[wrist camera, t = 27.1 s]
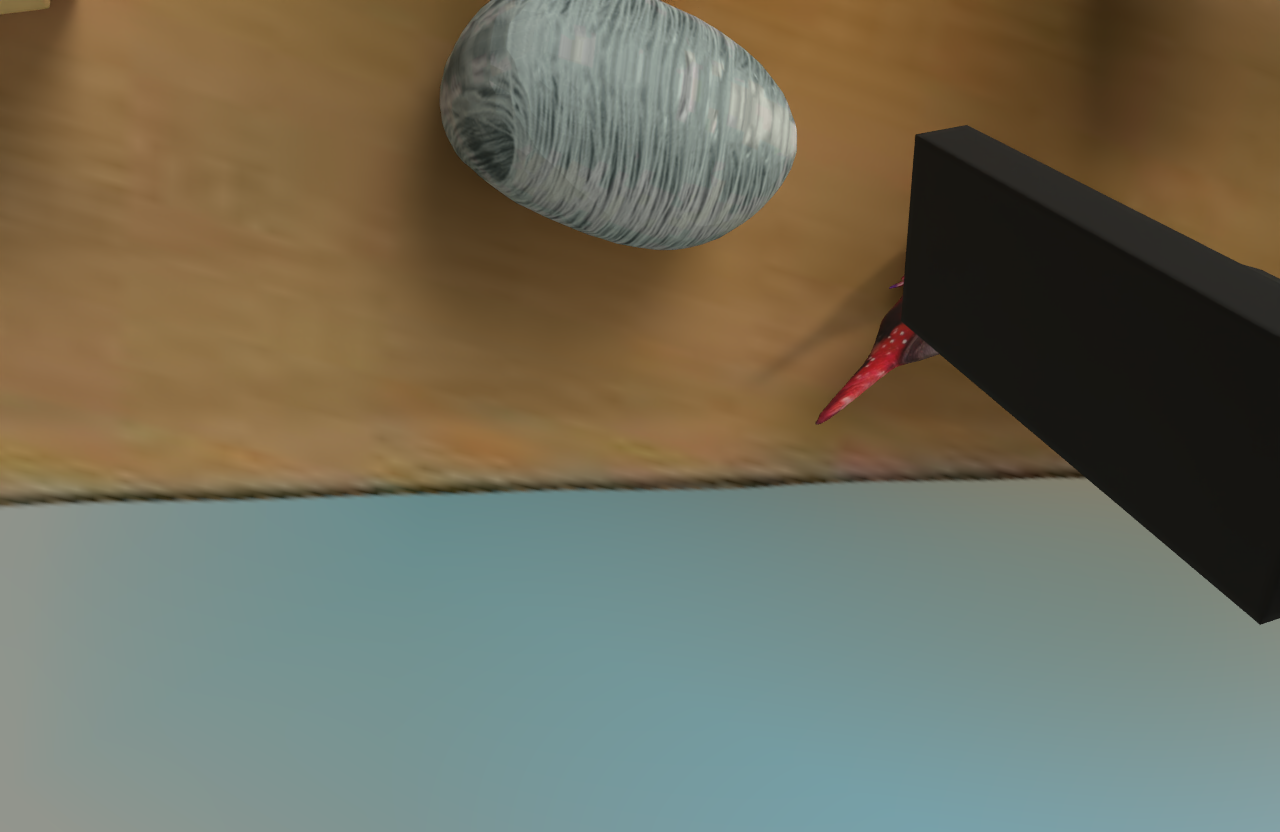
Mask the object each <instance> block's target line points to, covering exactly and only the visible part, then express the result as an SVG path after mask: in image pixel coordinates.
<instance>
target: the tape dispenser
mask: <svg viewBox="0 0 1280 832" xmlns="http://www.w3.org/2000/svg"><path fill="white" fill-rule="evenodd" d="M49 7H50V0H0V14H8V13H16V12H24V11H32V10H40V9H48V8H49Z"/></svg>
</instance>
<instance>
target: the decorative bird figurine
mask: <svg viewBox="0 0 1280 832" xmlns="http://www.w3.org/2000/svg"><path fill="white" fill-rule="evenodd" d="M901 279H902V280H904V276H903V277H902V278H901ZM900 286H904V281H903V282H900V283H898V284H895V285H893V286H891V287H890V288H889V289H891V288H896V287H900ZM902 299H903V296H902V297H901V298H900V300H899V301H898V302H897V303H896V304H895V306H894V307H893V308H892V309H891V310H890V311H889V312H888V313H887V314H886V316H885V317H884V318H883V320H882V322H881V325H880V328H879V332H878V335H877V338H876V341H875V344H874V346H873V349H872V351H871V353H870V355H869V356H868V358H867V359H866V361H865V363H864V364H863V365H862V366H861V368H860V369H859V370H858V371H857V372H856V373H855V374H854V376H853V377H852V378H851V379H850V380H849V381H848V382H847V383H846V385H845V386H844V387H843V388H842V389H841V390H840V391H839V392H838V394H837V395H836V396H835V397H834V398H833V399H832V400H831V402H830V403H829V404H828V405H827V407H826V408H825V409H824V410H823V411H822V413H821V414H820V415H819V418H818V420H817V421H816V423H815V424H821V423H823V422H825V421H827V420H828V419H830V418H831V417H832V416H834V415H835V414H837V413H838V412H839V411H840V410H841V409H843V408H844V407H846V406H847V405H848V404H849V403H850V402H852V401H853V400H854V399H855V398H857V397H858V396H859V395H861V394H862V393H863V392H864V391H865V390H867V389H868V388H869V387H870V386H871V385H873V384H874V383H875V382H877V381H878V380H879V379H880V378H881V377H883V376H884V375H885V374H887V373H888V372H889V371H891V370H892V369H894V368H895V367H898V366H901V365H904V364H908V363H912V362H916V361H920V360H923V359H926V358H929V357H932V356H935V355H938V354H939V353H938V352H937V351H935V350H934V349H933V348H932V347H931V346H930V345H928V344H927V343H926V342H925V341H924V340H922V339H921V338H920V337H919V336H918V335H916V334H915V333H914V332H913V331H912V330H911V329H909V328H908V327H907V326H906V325H905V324H903V323H902V322H901V312H902Z"/></svg>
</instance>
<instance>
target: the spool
mask: <svg viewBox="0 0 1280 832" xmlns="http://www.w3.org/2000/svg"><path fill="white" fill-rule="evenodd" d="M440 110H441V117H442V124H443V127H444V129H445V132H446V135H447V137H448V139H449V141H450V143H451V145H452V147H453V149H454V151H455V152H456V154H457V155H458V156H459V158H460V159H461V160H462V161H463V162H464V163H465V164H467V165H468V166H469V167H470V168H471V169H472V170H474V171H475V172H476V173H477V174H478V175H479V176H480V177H481V178H483V179H484V180H485V181H486V182H488V183H489V184H490V185H492V186H493V187H494V188H496V189H497V190H498V191H500V192H501V193H503V194H504V195H505V196H507V197H508V198H510V199H511V200H513V201H514V202H516V203H518V204H520V205H522V206H524V207H526V208H528V209H530V210H532V211H534V212H536V213H538V214H540V215H542V216H544V217H547V218H549V219H551V220H554V221H556V222H559V223H561V224H563V225H566V226H568V227H571V228H573V229H575V230H578V231H580V232H583V233H586V234H588V235H591V236H595V237H598V238H601V239H605V240H608V241H611V242H614V243H617V244H622V245H628V246H633V247H639V248H646V249H655V250H676V249H684V248H689V247H693V246H697V245H701V244H704V243H707V242H709V241H712V240H715V239H718V238H720V237H721V236H723V235H725V234H727V233H728V232H730V231H732V230H733V229H735V228H736V227H738V226H739V225H741V224H742V223H744V222H746V221H747V220H748V219H750V218H751V217H752V216H753V215H754V214H756V213H757V212H758V211H759V210H760V209H761V208H762V207H763V206H764V205H765V204H766V203H767V202H768V201H769V200H770V199H771V197H772V196H773V195H774V194H775V193H776V191H777V190H778V189H779V188H780V186H781V185H782V183H783V182H784V180H785V178H786V177H787V175H788V173H789V171H790V170H791V167H792V164H793V161H794V158H795V155H796V152H797V130H796V125H795V122H794V119H793V116H792V114H791V111H790V108H789V106H788V103H787V101H786V99H785V97H784V94H783V92H782V91H781V90H780V88H779V87H778V86H777V84H776V83H775V82H774V80H773V79H772V78H771V76H770V75H769V74H768V72H767V71H766V70H765V69H764V67H763V66H762V65H761V64H760V63H759V62H758V61H757V60H756V59H755V58H754V57H752V56H751V55H750V54H749V53H748V52H747V51H746V50H745V49H743V48H742V47H741V46H739V45H738V44H737V43H735V42H734V41H733V40H731V39H730V38H729V37H727V36H726V35H724V34H723V33H722V32H720V31H719V30H717V29H715V28H714V27H712V26H710V25H709V24H707V23H706V22H704V21H702V20H700V19H699V18H697V17H695V16H693V15H691V14H688V13H686V12H684V11H682V10H679V9H677V8H675V7H673V6H671V5H669V4H667V3H664V2H662V1H660V0H491V1H490V2H488V3H487V4H486V5H485V6H483V7H482V8H481V9H480V10H479V11H478V12H477V14H476V15H475V16H474V17H473V18H472V20H471V21H470V22H469V23H468V25H467V26H466V27H465V29H464V30H463V31H462V33H461V35H460V37H459V39H458V41H457V42H456V44H455V46H454V48H453V51H452V53H451V54H450V56H449V57H448V60H447V62H446V65H445V68H444V74H443V78H442V82H441V85H440Z"/></svg>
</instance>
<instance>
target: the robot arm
mask: <svg viewBox="0 0 1280 832" xmlns="http://www.w3.org/2000/svg"><path fill="white" fill-rule="evenodd" d="M901 322H902V323H903V324H905V325H906V326H907V327H908V328H909V329H911V330H912V331H913V332H914V333H915V334H916V335H918V336H919V337H920V338H921V339H922V340H924V341H925V342H926V343H927V344H928V345H930V346H931V347H932V348H933V349H934V350H935V351H937V352H938V353H939V354H940V355H941V356H943V357H944V358H945V359H946V360H947V361H948V362H950V363H951V364H952V365H953V366H954V367H956V368H957V369H958V370H959V371H960V372H961V373H963V374H964V375H965V376H966V377H967V378H969V379H970V380H971V381H972V382H973V383H975V384H976V385H977V386H978V387H979V388H980V389H982V390H983V391H984V392H985V393H986V394H988V395H989V396H990V397H991V398H992V399H993V400H995V401H996V402H997V403H998V404H999V405H1001V406H1002V407H1003V408H1004V409H1005V410H1006V411H1008V412H1009V413H1010V414H1011V415H1012V416H1014V417H1015V418H1016V419H1017V420H1018V421H1020V422H1021V423H1022V424H1023V425H1024V426H1025V427H1027V428H1028V429H1029V430H1030V431H1031V432H1033V433H1034V434H1035V435H1036V436H1037V437H1038V438H1040V439H1041V440H1042V441H1043V442H1044V443H1046V444H1047V445H1048V446H1049V447H1050V448H1051V449H1053V450H1054V451H1055V452H1056V453H1057V454H1059V455H1060V456H1061V457H1062V458H1063V459H1065V460H1066V461H1067V462H1068V463H1069V464H1070V465H1072V466H1073V467H1074V468H1075V469H1076V470H1078V471H1079V472H1080V473H1081V474H1082V475H1083V476H1085V477H1086V478H1087V479H1088V480H1089V481H1091V482H1092V483H1093V484H1094V485H1095V486H1097V487H1098V488H1099V489H1100V490H1101V491H1102V492H1104V493H1105V494H1106V495H1107V496H1108V497H1110V498H1111V499H1112V500H1113V501H1114V502H1115V503H1117V504H1118V505H1119V506H1120V507H1122V508H1123V509H1124V510H1125V511H1126V512H1127V513H1129V514H1130V515H1131V516H1132V517H1133V518H1134V519H1136V520H1137V521H1138V522H1139V523H1140V524H1141V525H1143V526H1144V527H1145V528H1146V529H1147V530H1149V531H1150V532H1151V533H1152V534H1153V535H1155V536H1156V537H1157V538H1158V539H1159V540H1160V541H1162V542H1163V543H1164V544H1165V545H1166V546H1168V547H1169V548H1170V549H1171V550H1172V551H1173V552H1175V553H1176V554H1177V555H1178V556H1179V557H1181V558H1182V559H1183V560H1184V561H1185V562H1187V563H1188V564H1189V565H1190V566H1191V567H1192V568H1194V569H1195V570H1196V571H1197V572H1198V573H1199V574H1201V575H1202V576H1203V577H1204V578H1205V579H1207V580H1208V581H1209V582H1210V583H1211V584H1213V585H1214V586H1215V587H1216V588H1218V589H1219V590H1220V591H1221V592H1222V593H1223V594H1224V595H1226V596H1227V597H1228V598H1229V599H1230V600H1232V601H1233V602H1234V603H1235V604H1236V605H1237V606H1239V607H1240V608H1241V609H1242V610H1243V611H1245V612H1246V613H1247V614H1248V615H1249V616H1250V617H1252V618H1253V619H1254V620H1255V621H1256V622H1258V623H1259V624H1260V625H1261V624H1264V623H1267V622H1270V621H1273V620H1275V619H1279V618H1280V279H1279V278H1277V277H1275V276H1273V275H1271V274H1269V273H1267V272H1265V271H1263V270H1260V269H1256V268H1253V267H1249V266H1246V265H1242V264H1240V263H1238V262H1236V261H1234V260H1232V259H1230V258H1228V257H1226V256H1224V255H1222V254H1220V253H1218V252H1216V251H1214V250H1212V249H1210V248H1208V247H1206V246H1204V245H1202V244H1201V243H1199V242H1197V241H1195V240H1193V239H1191V238H1189V237H1187V236H1185V235H1183V234H1181V233H1179V232H1177V231H1175V230H1173V229H1171V228H1169V227H1167V226H1165V225H1163V224H1161V223H1159V222H1157V221H1155V220H1153V219H1151V218H1149V217H1147V216H1145V215H1143V214H1141V213H1139V212H1137V211H1135V210H1133V209H1131V208H1129V207H1128V206H1126V205H1124V204H1122V203H1120V202H1118V201H1116V200H1114V199H1112V198H1110V197H1108V196H1106V195H1104V194H1102V193H1100V192H1098V191H1096V190H1094V189H1092V188H1090V187H1088V186H1086V185H1084V184H1082V183H1080V182H1078V181H1076V180H1074V179H1072V178H1070V177H1068V176H1066V175H1064V174H1062V173H1060V172H1058V171H1056V170H1055V169H1053V168H1051V167H1049V166H1047V165H1045V164H1043V163H1041V162H1039V161H1037V160H1035V159H1033V158H1031V157H1029V156H1027V155H1025V154H1023V153H1021V152H1019V151H1017V150H1015V149H1013V148H1011V147H1009V146H1007V145H1005V144H1003V143H1001V142H999V141H997V140H995V139H993V138H991V137H989V136H987V135H985V134H983V133H981V132H980V131H978V130H976V129H974V128H972V127H970V126H968V125H965V126H959V127H954V128H948V129H943V130H938V131H932V132H927V133H921V134H916V135H915V147H914V159H913V172H912V185H911V197H910V210H909V223H908V236H907V248H906V261H905V274H904V286H903V299H902V312H901Z"/></svg>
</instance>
